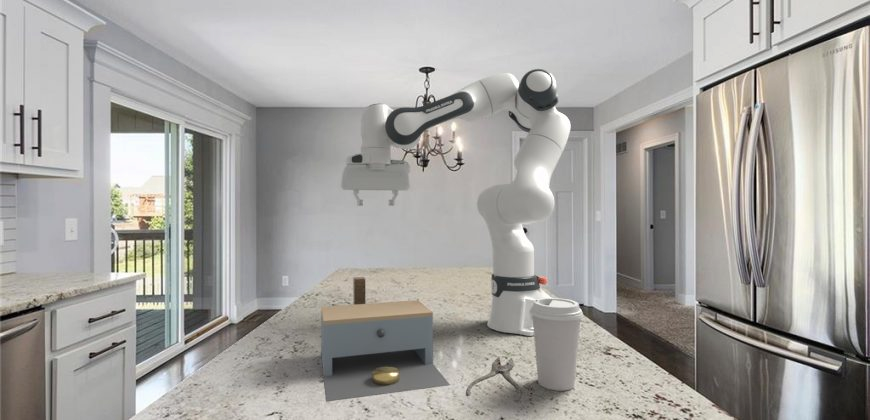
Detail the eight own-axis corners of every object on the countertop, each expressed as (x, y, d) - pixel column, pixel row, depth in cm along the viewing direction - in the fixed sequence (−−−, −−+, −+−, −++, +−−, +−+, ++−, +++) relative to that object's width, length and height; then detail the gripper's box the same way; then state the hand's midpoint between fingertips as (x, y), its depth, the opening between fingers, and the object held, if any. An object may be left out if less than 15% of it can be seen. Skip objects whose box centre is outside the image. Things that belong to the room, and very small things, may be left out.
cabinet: (418, 346, 100) (418, 300, 100) (434, 365, 88) (434, 313, 88) (321, 355, 94) (321, 306, 93) (323, 378, 81) (323, 322, 81)
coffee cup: (546, 369, 86) (546, 294, 85) (592, 383, 79) (592, 302, 79) (519, 383, 79) (519, 302, 79) (567, 399, 72) (567, 311, 72)
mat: (416, 343, 102) (416, 343, 102) (450, 385, 78) (450, 384, 78) (321, 352, 95) (321, 352, 95) (326, 401, 72) (326, 401, 72)
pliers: (466, 397, 72) (467, 355, 92) (466, 402, 72) (467, 359, 92) (524, 399, 71) (512, 357, 91) (524, 404, 71) (512, 361, 91)
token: (398, 374, 83) (398, 366, 83) (399, 384, 78) (399, 376, 78) (373, 375, 82) (372, 367, 82) (371, 386, 77) (371, 377, 77)
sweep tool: (372, 321, 121) (372, 276, 121) (387, 346, 99) (387, 291, 99) (344, 323, 118) (344, 278, 118) (353, 349, 97) (352, 294, 96)
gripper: (407, 161, 133) (407, 205, 133) (340, 159, 127) (340, 205, 127) (412, 159, 127) (412, 205, 127) (342, 157, 121) (342, 205, 121)
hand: (375, 205), depth 127 cm, fingers open, 8 cm apart
